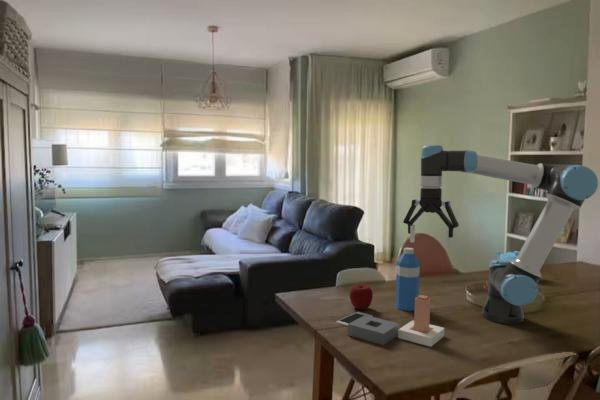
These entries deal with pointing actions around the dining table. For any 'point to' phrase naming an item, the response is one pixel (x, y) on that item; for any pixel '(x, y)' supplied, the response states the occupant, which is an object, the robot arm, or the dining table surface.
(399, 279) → the water bottle
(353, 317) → the smartphone
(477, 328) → the dining table surface
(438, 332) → the white square frame
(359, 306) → the apple
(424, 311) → the plug
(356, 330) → the grey flat block
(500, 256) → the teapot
